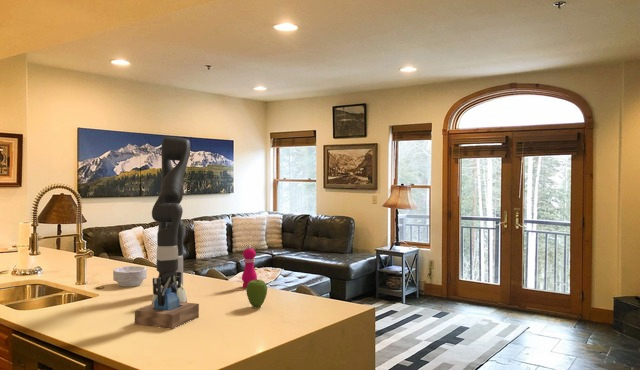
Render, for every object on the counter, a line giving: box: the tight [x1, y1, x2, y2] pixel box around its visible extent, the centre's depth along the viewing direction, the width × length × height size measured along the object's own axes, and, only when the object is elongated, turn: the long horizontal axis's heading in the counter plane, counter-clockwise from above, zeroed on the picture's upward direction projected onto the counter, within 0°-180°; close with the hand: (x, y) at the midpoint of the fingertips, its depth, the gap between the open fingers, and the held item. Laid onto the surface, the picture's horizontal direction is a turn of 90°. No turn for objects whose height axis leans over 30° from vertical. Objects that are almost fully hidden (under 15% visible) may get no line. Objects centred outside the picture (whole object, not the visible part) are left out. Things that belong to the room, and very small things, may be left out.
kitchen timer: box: [151, 271, 188, 304], centre depth 205 cm, size 14×14×15 cm
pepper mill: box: [241, 244, 258, 289], centre depth 238 cm, size 7×7×20 cm
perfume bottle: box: [154, 284, 179, 311], centre depth 182 cm, size 6×6×12 cm
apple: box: [245, 279, 268, 309], centre depth 202 cm, size 9×8×12 cm
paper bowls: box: [112, 265, 148, 288], centre depth 242 cm, size 15×15×8 cm
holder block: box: [134, 301, 200, 330], centre depth 183 cm, size 16×16×5 cm
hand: (167, 303), depth 182 cm, fingers open, 6 cm apart
